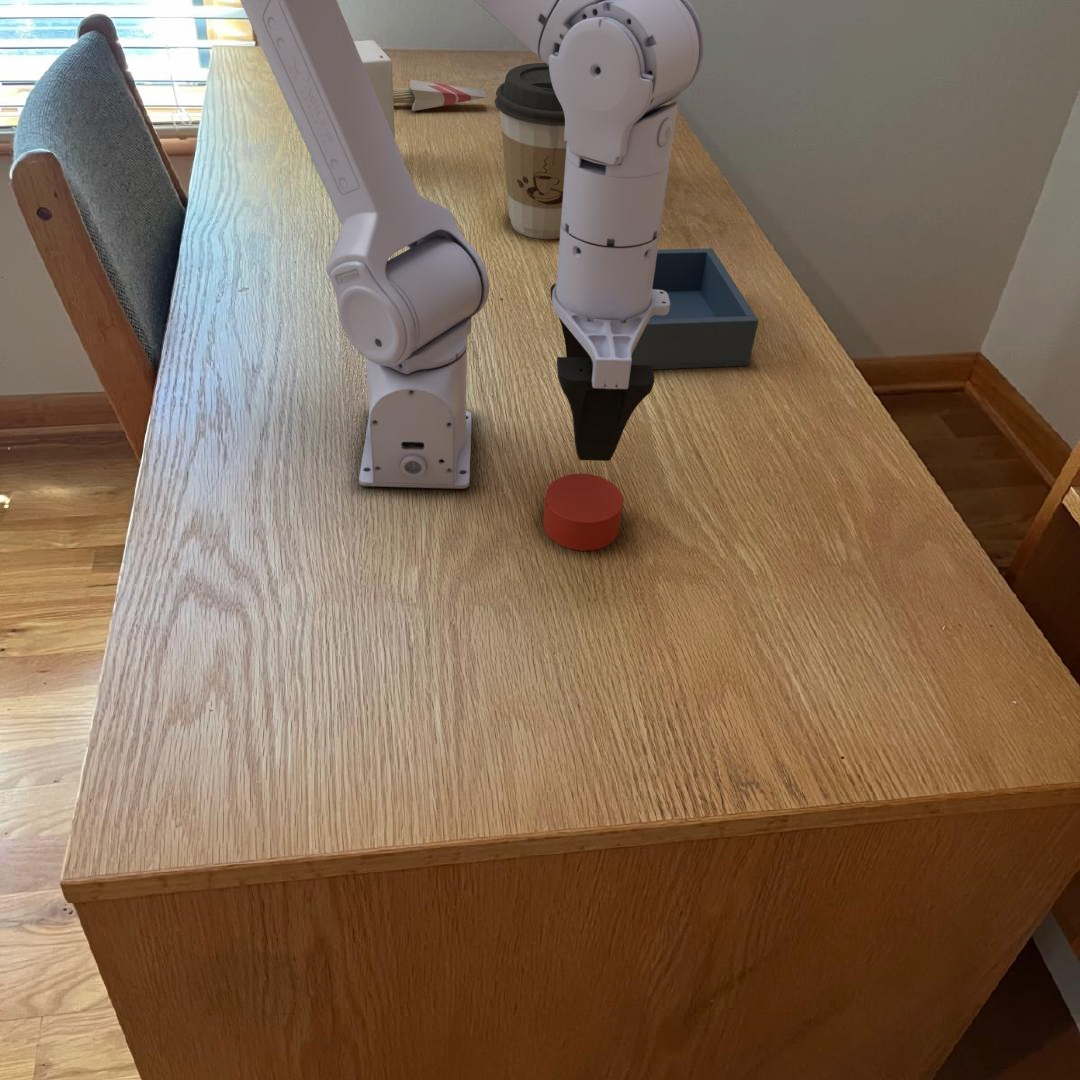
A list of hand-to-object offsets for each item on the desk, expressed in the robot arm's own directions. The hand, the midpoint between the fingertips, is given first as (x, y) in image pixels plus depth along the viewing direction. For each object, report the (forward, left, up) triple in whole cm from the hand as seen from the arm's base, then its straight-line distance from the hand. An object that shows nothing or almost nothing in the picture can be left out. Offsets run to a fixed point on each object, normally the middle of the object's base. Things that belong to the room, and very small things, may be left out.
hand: (589, 422), depth 67 cm
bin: (+27, -9, -9) cm, 30 cm away
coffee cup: (+48, +1, -9) cm, 49 cm away
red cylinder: (-1, 0, -9) cm, 9 cm away
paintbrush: (+82, +17, -7) cm, 84 cm away
